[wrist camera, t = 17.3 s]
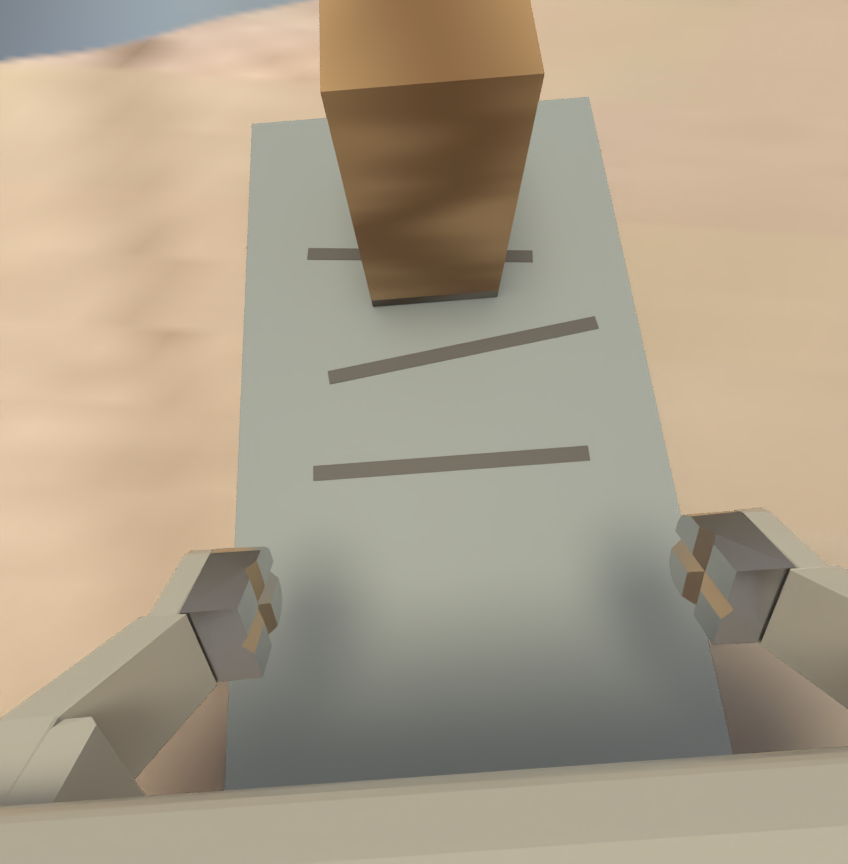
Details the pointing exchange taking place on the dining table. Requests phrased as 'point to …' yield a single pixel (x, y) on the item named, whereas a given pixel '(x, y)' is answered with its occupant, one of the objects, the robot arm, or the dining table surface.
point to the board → (457, 495)
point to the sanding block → (430, 136)
